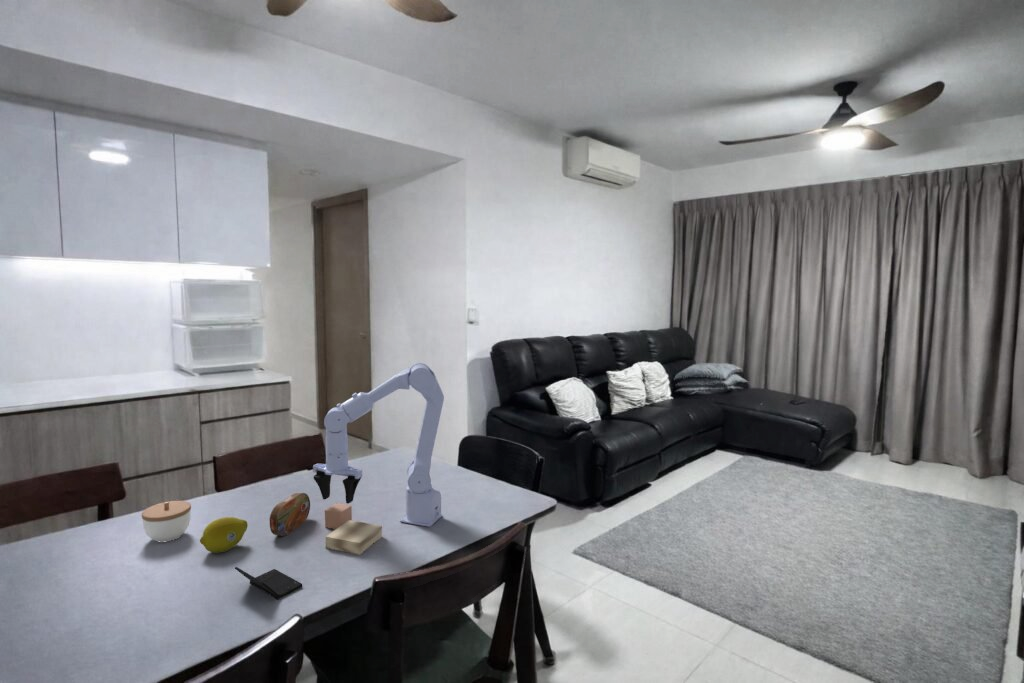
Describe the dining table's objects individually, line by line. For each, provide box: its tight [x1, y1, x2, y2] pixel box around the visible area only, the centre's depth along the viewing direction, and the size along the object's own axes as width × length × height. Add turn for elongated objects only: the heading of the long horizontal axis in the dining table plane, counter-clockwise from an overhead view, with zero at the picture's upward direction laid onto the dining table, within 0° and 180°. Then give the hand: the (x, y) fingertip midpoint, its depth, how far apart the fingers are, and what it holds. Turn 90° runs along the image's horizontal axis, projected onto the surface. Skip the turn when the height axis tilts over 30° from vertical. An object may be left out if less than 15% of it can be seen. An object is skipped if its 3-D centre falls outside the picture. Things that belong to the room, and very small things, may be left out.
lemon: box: [199, 516, 249, 554], centre depth 131 cm, size 11×8×8 cm
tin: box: [269, 492, 311, 537], centre depth 143 cm, size 15×3×8 cm, turn 168°
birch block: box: [325, 520, 383, 556], centre depth 136 cm, size 10×10×3 cm
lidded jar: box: [141, 500, 192, 542], centre depth 137 cm, size 11×11×9 cm
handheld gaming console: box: [234, 566, 303, 601], centre depth 115 cm, size 12×7×10 cm
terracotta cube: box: [324, 502, 353, 530], centre depth 146 cm, size 5×5×5 cm
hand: (337, 500), depth 145 cm, fingers open, 7 cm apart
